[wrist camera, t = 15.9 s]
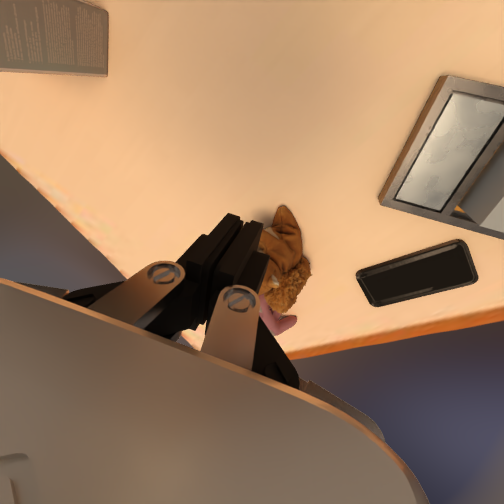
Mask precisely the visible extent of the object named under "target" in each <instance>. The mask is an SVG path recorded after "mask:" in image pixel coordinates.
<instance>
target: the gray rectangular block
mask: <svg viewBox="0 0 504 504" xmlns="http://www.w3.org/2000/svg"><path fill="white" fill-rule="evenodd" d="M458 206H459V207H460V208H461V209H462V210H463V211H464V212H465V213H466V214H467V215H468V216H469V217H471V218H472V219H473V220H474V221H475V222H476V223H477V224H478V225H479V226H482V227H485V228H489V229H492V230H496V231H500V232H503V233H504V141H503V142H502V144H501V145H500V146H499V148H498V149H497V151H496V152H495V153H494V155H493V156H492V158H491V159H490V160H489V162H488V163H487V165H486V166H485V167H484V169H483V170H482V172H481V173H480V174H479V176H478V177H477V178H476V180H475V181H474V183H473V184H472V185H471V187H470V188H469V190H468V191H467V192H466V194H465V195H464V197H463V198H462V199H461V201H460V202H459V203H458Z"/></svg>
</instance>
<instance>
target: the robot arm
mask: <svg viewBox="0 0 504 504" xmlns="http://www.w3.org/2000/svg"><path fill="white" fill-rule="evenodd" d="M262 229H263V223H259V222H256V221H253V220H252V221H251V222H250V223H249V222H246V223H245V225H244V226H243V221H242V220H240V216H236V215H233V214H230V213H228V214H227V215H226V216H225V217H224V218H223V219H222V220H221V221H220V223H219V224H218V225H217V226H216V227H215V228H214V229H213V231H212V232H211V233H210V234H209V235H205V234H202V235H201V236H200V237H199V238H198V239H197V240H196V241H195V242H194V243H193V244H192V245H191V246H190V247H189V248H188V250H187V251H186V252H185V253H184V254H183V255H182V256H181V257H180V258H179V259H178V260H177V261H176V262H172V261H158V262H154V263H152V264H150V265H148V266H146V267H145V268H143V269H142V270H140V271H139V272H138V273H136V274H135V275H133V276H132V277H130V278H129V279H128V280H126V281H122V282H117V283H111V284H106V285H100V286H95V287H90V288H84V289H80V290H76V291H73V292H71V293H69V290H66V289H59V288H53V287H47V286H40V285H33V284H27V283H19V282H12V281H10V280H6V279H3V278H0V504H429V501H428V499H427V497H426V495H425V493H424V491H423V489H422V487H421V485H420V484H419V482H418V480H417V479H416V477H415V476H414V474H413V473H412V471H411V470H410V469H409V468H408V466H407V465H406V464H405V463H404V461H403V460H402V459H401V458H400V457H399V456H398V455H397V454H396V453H395V452H394V451H393V450H392V449H391V448H390V447H389V446H388V445H387V444H386V443H385V439H384V437H383V435H382V432H381V430H380V429H379V428H378V426H377V425H376V423H375V422H374V421H372V419H370V418H369V417H368V416H367V415H365V414H363V413H362V412H360V411H359V410H357V409H355V408H354V407H352V406H351V405H349V404H348V403H346V402H344V401H343V400H341V399H339V398H337V397H336V396H335V395H333V394H331V393H330V392H328V391H327V390H325V389H323V388H322V387H320V386H319V385H317V384H315V383H314V382H312V381H310V380H309V381H308V382H306V381H304V380H303V379H301V378H300V377H299V376H298V374H297V371H296V369H295V368H294V366H293V365H292V363H291V362H290V360H289V359H288V357H287V356H286V354H285V353H284V351H283V350H282V348H281V347H280V345H279V344H278V342H277V341H276V339H275V338H274V336H273V335H272V333H271V332H270V330H269V329H268V327H267V326H266V324H265V323H264V321H263V320H262V319H261V317H260V316H259V310H260V299H259V297H258V293H259V290H260V288H261V285H262V282H263V279H264V276H265V273H266V270H267V266H268V263H269V259H270V255H267V254H264V253H261V252H258V251H257V250H258V246H259V242H260V238H261V233H262ZM206 320H207V322H206ZM205 322H206V329H205V339H204V342H203V345H202V348H201V351H198V350H195V349H193V348H190V347H188V346H185V345H182V344H180V343H177V342H176V341H177V340H178V339H179V337H180V336H181V334H182V331H183V330H186V329H192V330H194V331H196V329H197V327H198V325H199V324H202V325H203V324H204V323H205Z"/></svg>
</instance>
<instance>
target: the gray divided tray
mask: <svg viewBox="0 0 504 504" xmlns="http://www.w3.org/2000/svg"><path fill="white" fill-rule="evenodd" d="M503 141H504V87H501V86H496V85H492V84H487V83H482V82H478V81H473V80H468V79H464V78H459V77H454V76H450V75H447V76H440V77H439V79H438V81H437V83H436V85H435V87H434V89H433V91H432V93H431V95H430V97H429V99H428V101H427V103H426V105H425V107H424V109H423V111H422V113H421V115H420V117H419V119H418V121H417V122H416V124H415V126H414V128H413V130H412V132H411V134H410V136H409V138H408V140H407V142H406V144H405V146H404V148H403V150H402V152H401V154H400V156H399V158H398V160H397V162H396V164H395V166H394V168H393V170H392V171H391V173H390V175H389V177H388V179H387V181H386V183H385V185H384V187H383V189H382V191H381V193H380V195H379V197H378V200H379V203H380V205H382V206H386V207H389V208H393V209H396V210H400V211H403V212H407V213H411V214H414V215H418V216H421V217H425V218H428V219H432V220H435V221H439V222H443V223H446V224H450V225H453V226H457V227H460V228H464V229H467V230H471V231H475V232H478V233H482V234H485V235H489V236H492V237H496V238H499V239H503V240H504V233H503V232H500V231H496V230H492V229H489V228H485V227H482V226H479V225H478V224H477V223H476V222H475V221H474V220H473V219H472V218H471V217H469V216H468V215H467V214H466V213H465V212H464V211H463V210H462V209H461V208H460V207H459V206H458V203H459V202H460V201H461V199H462V198H463V197H464V195H465V194H466V192H467V191H468V190H469V188H470V187H471V185H472V184H473V183H474V181H475V180H476V178H477V177H478V176H479V174H480V173H481V172H482V170H483V169H484V167H485V166H486V165H487V163H488V162H489V160H490V159H491V158H492V156H493V155H494V153H495V152H496V151H497V149H498V148H499V146H500V145H501V144H502V142H503Z"/></svg>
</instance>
